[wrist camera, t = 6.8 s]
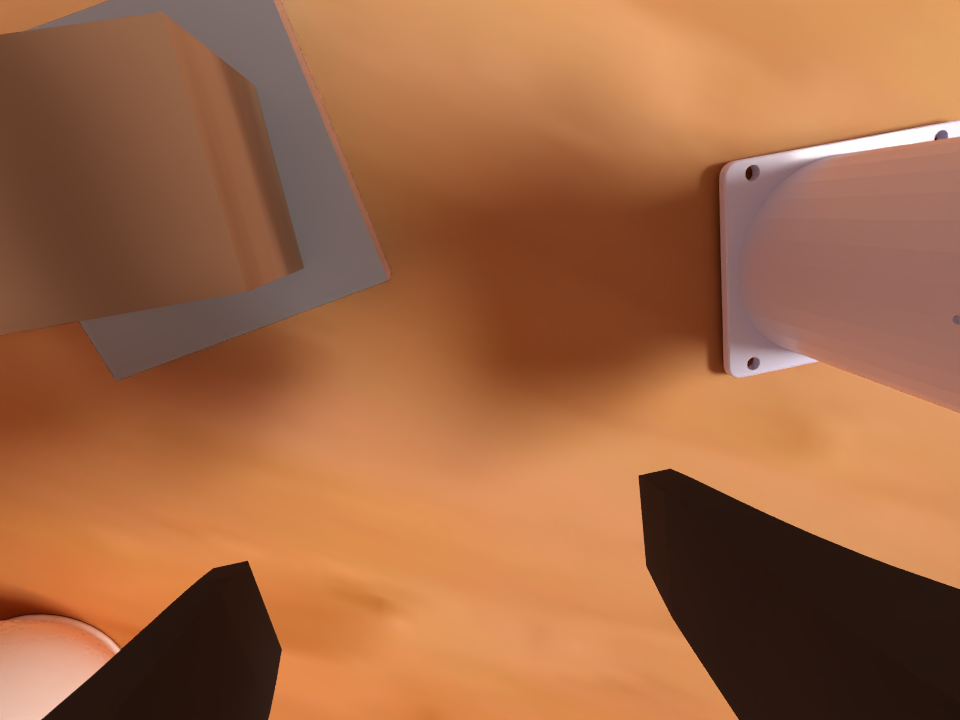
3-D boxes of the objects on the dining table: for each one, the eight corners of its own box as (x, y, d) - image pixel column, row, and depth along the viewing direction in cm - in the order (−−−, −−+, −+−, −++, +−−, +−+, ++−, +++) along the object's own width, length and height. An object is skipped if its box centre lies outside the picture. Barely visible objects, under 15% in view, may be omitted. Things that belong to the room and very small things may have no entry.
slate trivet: (279, -10, 15) (252, -52, 13) (393, 271, 18) (388, 280, 15) (-1, 92, 15) (-81, 69, 12) (157, 358, 18) (116, 381, 15)
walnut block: (255, 85, 13) (162, 11, 9) (304, 267, 15) (247, 291, 10) (66, 114, 13) (-139, 54, 8) (135, 297, 15) (-6, 336, 10)
